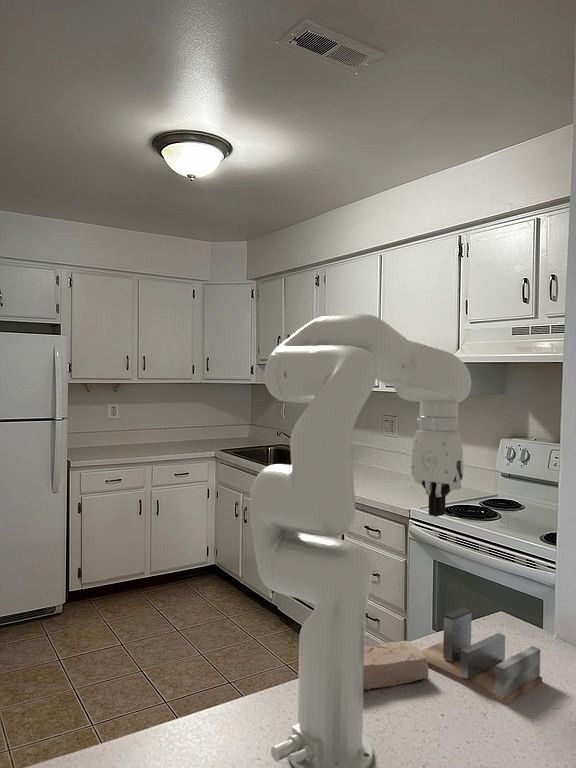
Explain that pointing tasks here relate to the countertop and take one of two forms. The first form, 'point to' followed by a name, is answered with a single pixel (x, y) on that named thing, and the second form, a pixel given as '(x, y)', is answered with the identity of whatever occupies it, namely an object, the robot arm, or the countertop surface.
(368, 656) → the brick
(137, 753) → the countertop surface
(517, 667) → the vise base
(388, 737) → the countertop surface
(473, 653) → the free jaw
